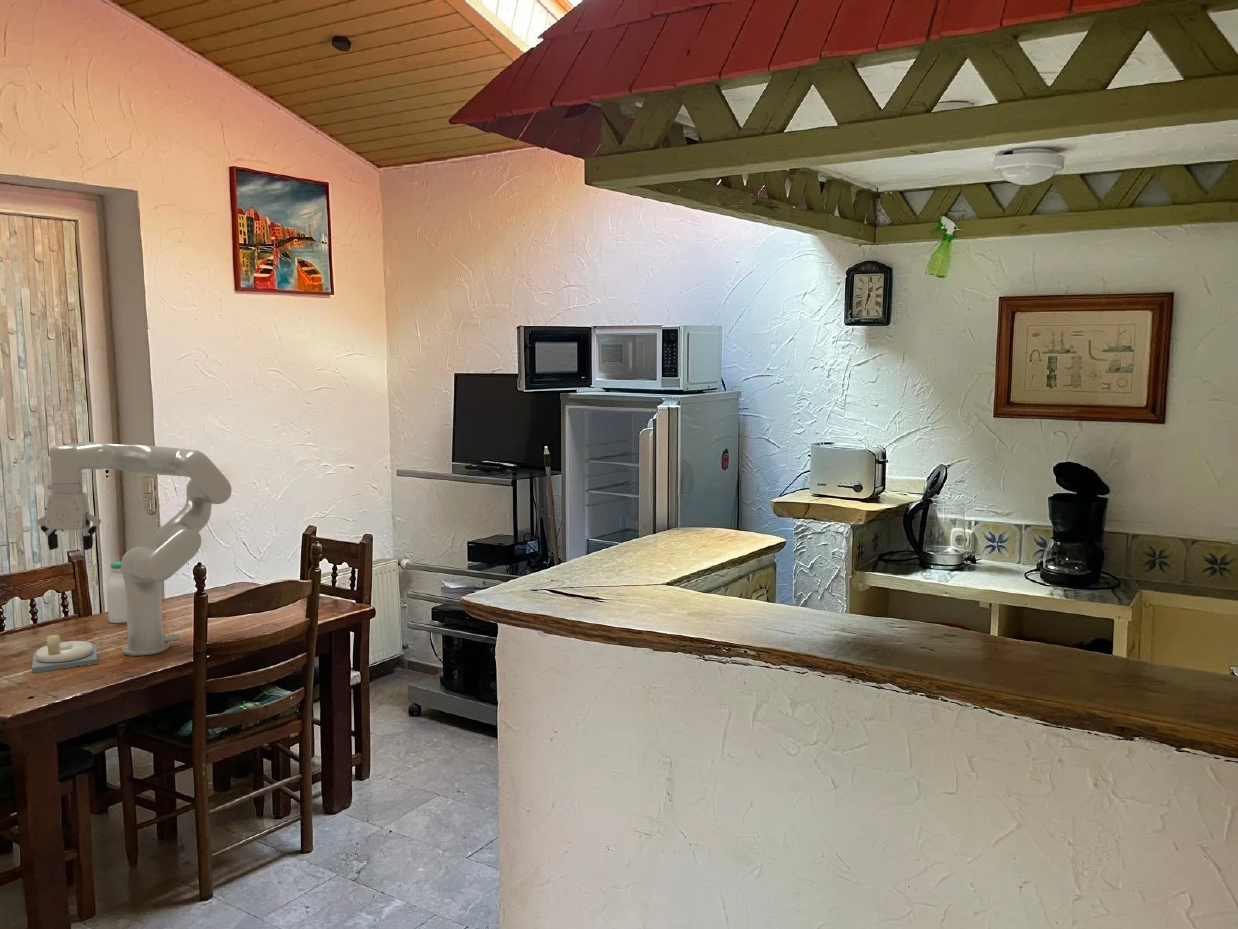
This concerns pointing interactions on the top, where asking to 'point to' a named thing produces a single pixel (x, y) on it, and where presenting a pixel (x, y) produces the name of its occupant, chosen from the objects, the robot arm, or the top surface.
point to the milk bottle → (116, 595)
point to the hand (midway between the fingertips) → (70, 549)
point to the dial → (63, 650)
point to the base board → (48, 666)
